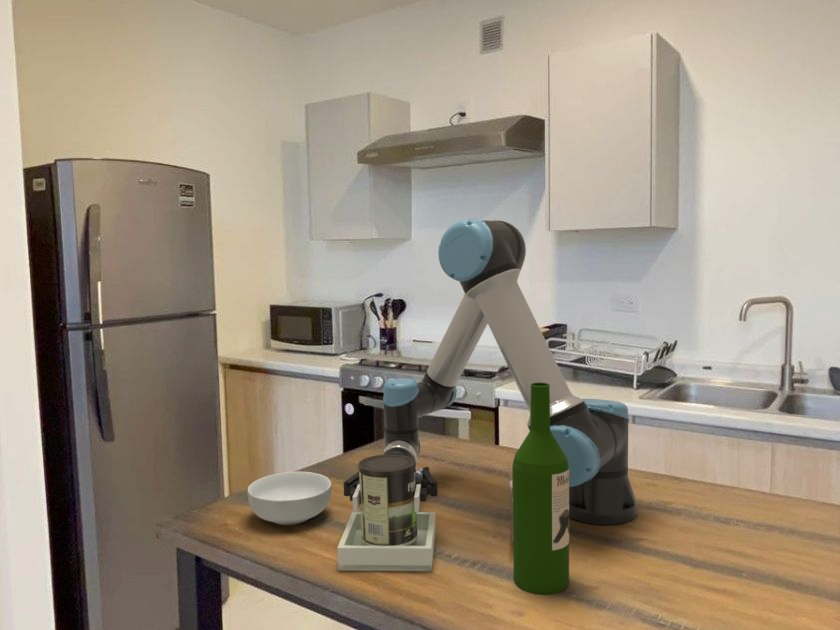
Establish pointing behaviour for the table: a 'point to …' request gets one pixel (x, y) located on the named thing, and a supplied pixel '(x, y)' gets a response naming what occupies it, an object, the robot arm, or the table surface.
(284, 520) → the cereal bowl
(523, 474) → the wine bottle
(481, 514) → the table surface
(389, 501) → the coffee can
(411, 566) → the tray
